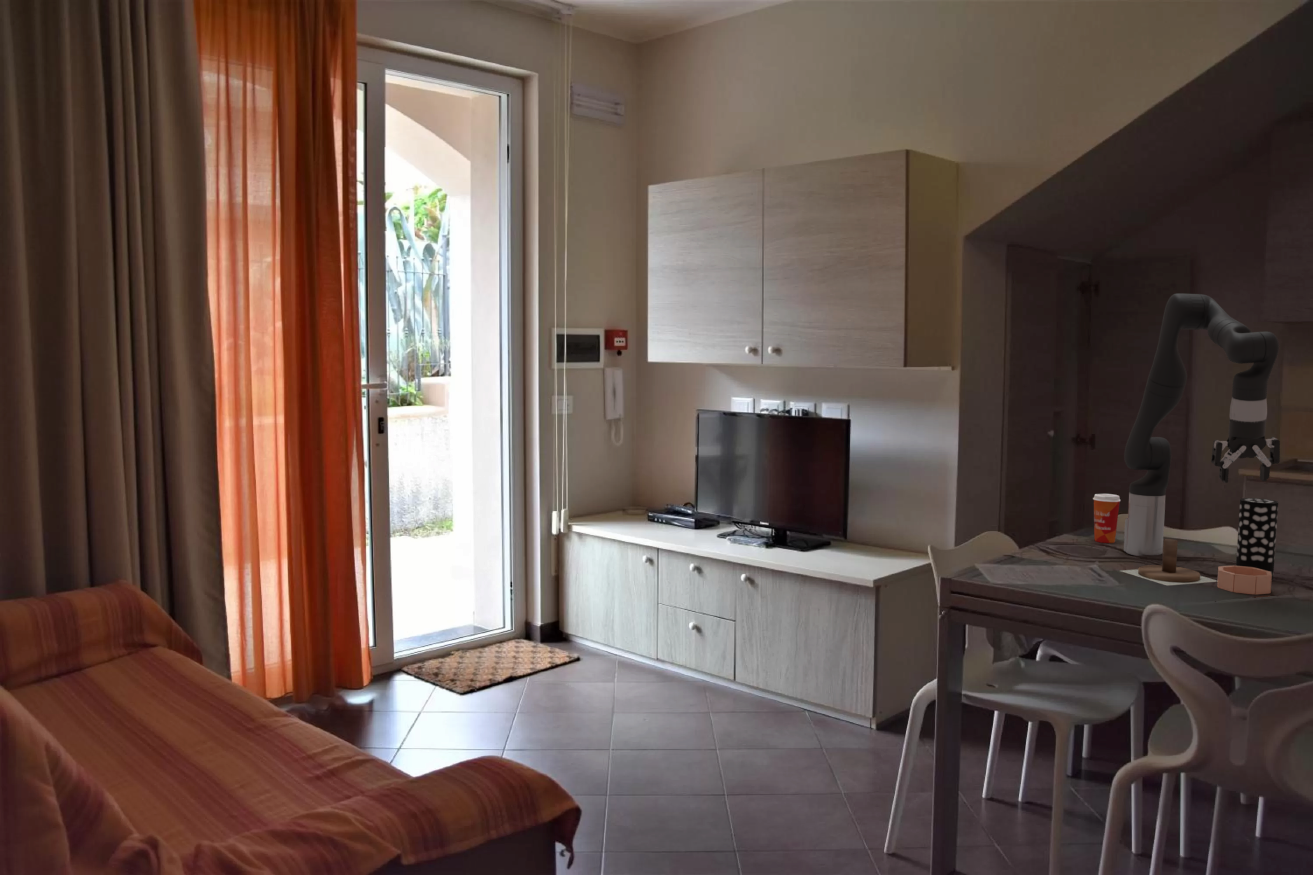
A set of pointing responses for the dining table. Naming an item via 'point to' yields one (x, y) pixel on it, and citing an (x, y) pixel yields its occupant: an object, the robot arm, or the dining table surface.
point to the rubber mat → (1202, 580)
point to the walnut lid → (1169, 567)
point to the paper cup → (1105, 517)
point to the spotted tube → (1257, 533)
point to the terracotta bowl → (1244, 580)
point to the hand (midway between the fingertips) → (1243, 481)
